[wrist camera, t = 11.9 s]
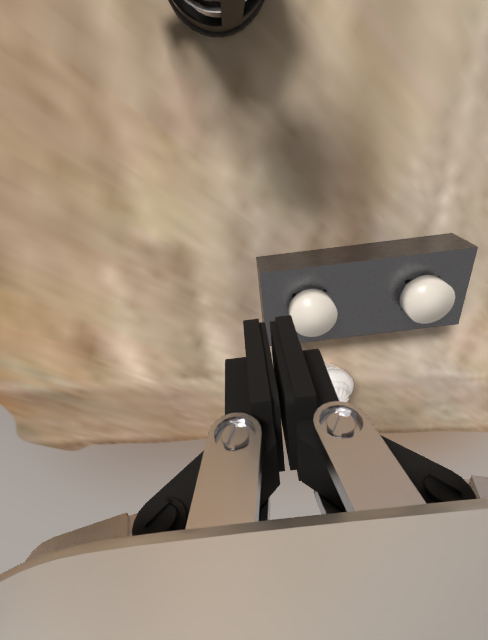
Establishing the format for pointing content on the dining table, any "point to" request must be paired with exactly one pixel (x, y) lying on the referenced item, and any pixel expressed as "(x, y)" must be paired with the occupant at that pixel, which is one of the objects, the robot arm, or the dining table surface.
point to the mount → (366, 281)
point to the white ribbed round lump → (340, 382)
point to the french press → (233, 3)
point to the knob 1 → (312, 312)
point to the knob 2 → (426, 298)
